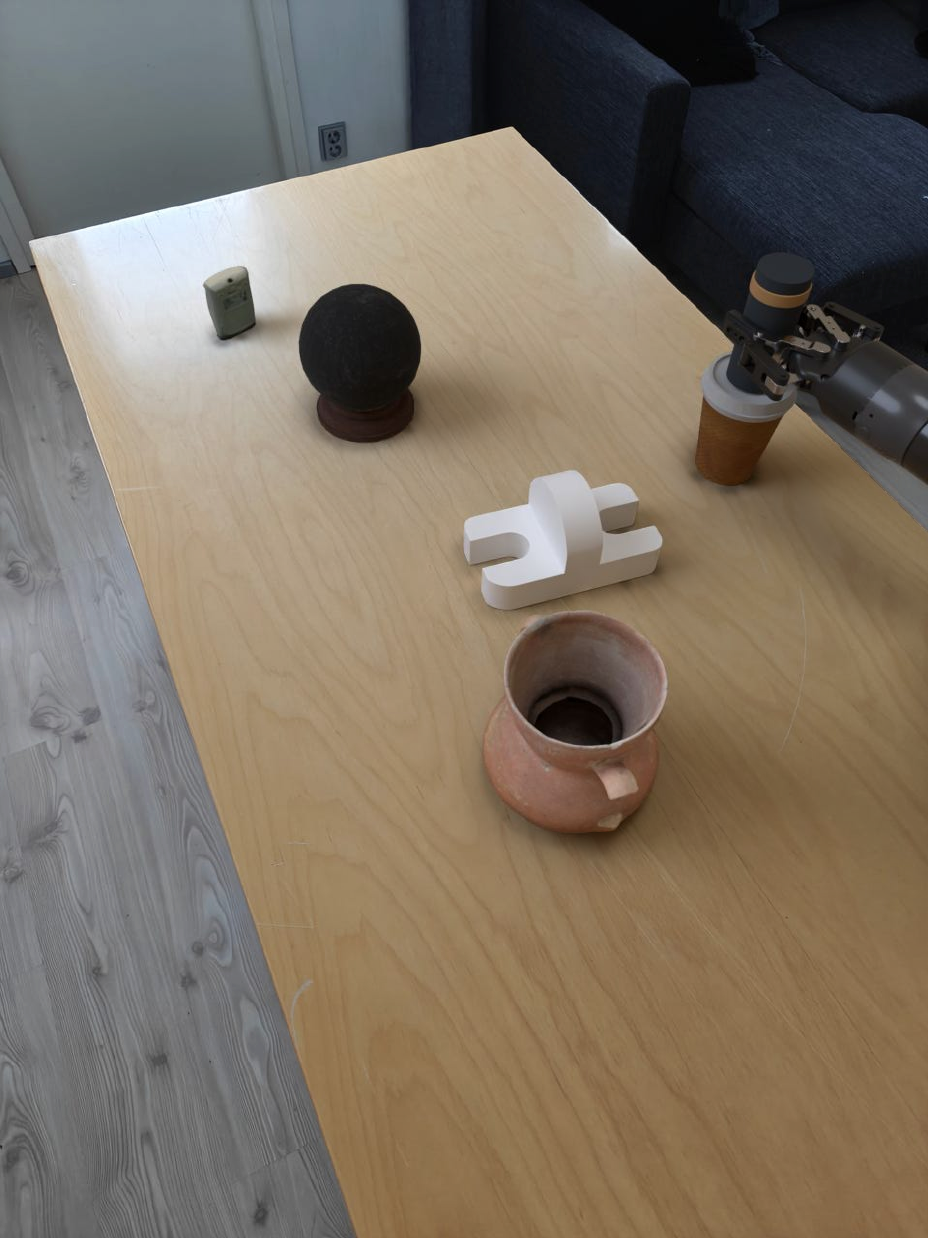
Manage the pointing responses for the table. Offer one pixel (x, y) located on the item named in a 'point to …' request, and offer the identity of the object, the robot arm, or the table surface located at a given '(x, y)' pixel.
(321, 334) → the ball on stand
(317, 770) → the table surface
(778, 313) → the dark cylindrical canister
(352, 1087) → the table surface
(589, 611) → the ceramic jug
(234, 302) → the grey rounded block
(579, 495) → the u-slot mount
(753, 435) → the disposable coffee cup
